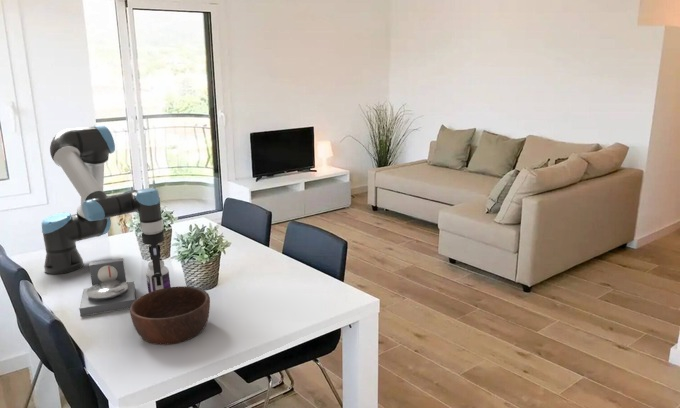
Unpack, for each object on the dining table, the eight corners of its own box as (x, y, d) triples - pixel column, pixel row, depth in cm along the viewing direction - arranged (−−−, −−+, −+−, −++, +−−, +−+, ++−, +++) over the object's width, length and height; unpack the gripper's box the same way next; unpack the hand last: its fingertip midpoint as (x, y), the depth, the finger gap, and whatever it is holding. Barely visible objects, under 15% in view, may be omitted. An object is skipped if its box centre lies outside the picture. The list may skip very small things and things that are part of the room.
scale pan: (89, 289, 203) (88, 284, 202) (128, 283, 207) (127, 278, 207) (85, 304, 190) (85, 298, 189) (128, 297, 194) (127, 292, 194)
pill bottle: (176, 295, 203) (172, 259, 199) (163, 304, 196) (158, 267, 192) (158, 293, 206) (154, 257, 202) (144, 301, 198) (139, 265, 195)
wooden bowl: (218, 311, 189) (216, 284, 187) (203, 348, 165) (200, 318, 163) (147, 313, 189) (144, 287, 186) (121, 351, 165) (117, 321, 162)
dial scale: (85, 292, 207) (80, 263, 204) (135, 285, 213) (131, 257, 210) (80, 316, 188) (75, 284, 185) (135, 307, 194) (130, 276, 191)
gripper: (141, 223, 204) (148, 275, 209) (141, 243, 181) (149, 300, 187) (161, 221, 206) (168, 272, 212) (164, 240, 184) (171, 297, 189)
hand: (159, 285), depth 199 cm, fingers open, 13 cm apart
